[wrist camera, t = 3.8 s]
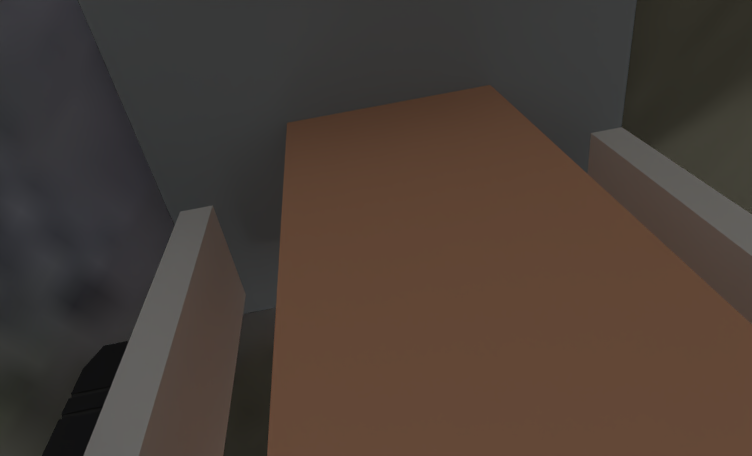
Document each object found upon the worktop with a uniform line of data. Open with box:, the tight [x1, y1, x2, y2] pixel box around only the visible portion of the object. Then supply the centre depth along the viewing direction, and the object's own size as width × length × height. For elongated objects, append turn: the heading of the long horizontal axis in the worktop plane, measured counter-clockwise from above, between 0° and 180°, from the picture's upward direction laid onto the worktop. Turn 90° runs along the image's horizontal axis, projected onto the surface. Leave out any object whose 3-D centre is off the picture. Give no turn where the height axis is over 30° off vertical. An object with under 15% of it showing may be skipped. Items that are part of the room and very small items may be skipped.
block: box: [267, 85, 752, 456], centre depth 9 cm, size 5×5×12 cm
